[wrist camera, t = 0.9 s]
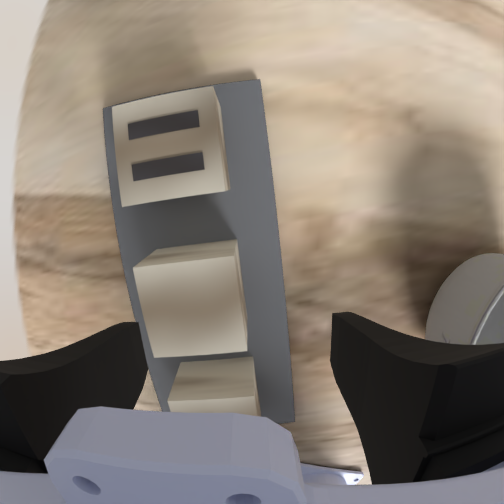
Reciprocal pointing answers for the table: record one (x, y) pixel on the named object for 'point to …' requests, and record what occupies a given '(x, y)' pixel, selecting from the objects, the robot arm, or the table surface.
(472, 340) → the teacup
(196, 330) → the plain block
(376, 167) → the table surface
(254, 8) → the table surface
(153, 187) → the marked block two
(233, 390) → the marked block one
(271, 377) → the mat
